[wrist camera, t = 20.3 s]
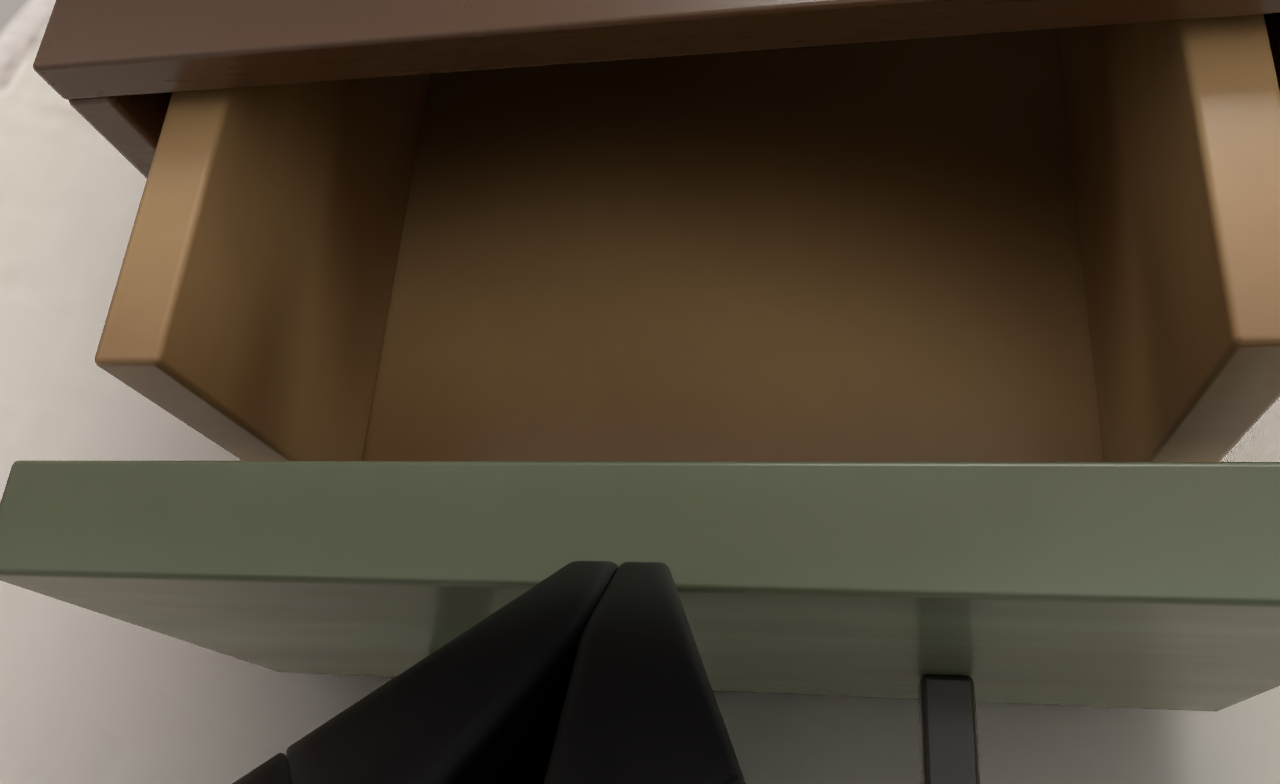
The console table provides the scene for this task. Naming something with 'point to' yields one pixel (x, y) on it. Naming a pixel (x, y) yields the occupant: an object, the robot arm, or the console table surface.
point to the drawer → (718, 367)
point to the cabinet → (487, 39)
